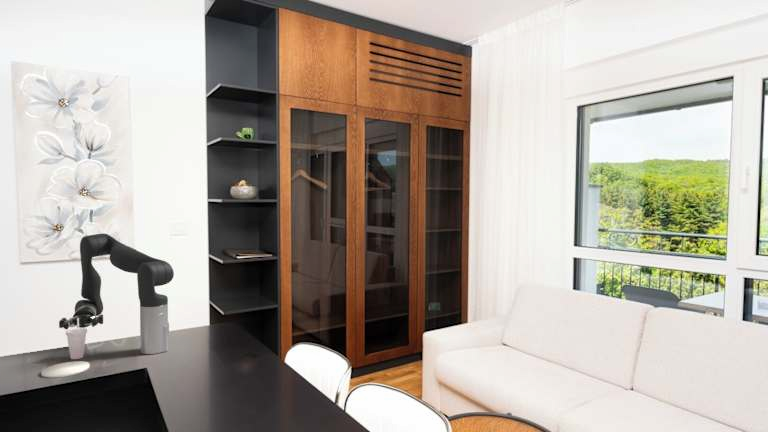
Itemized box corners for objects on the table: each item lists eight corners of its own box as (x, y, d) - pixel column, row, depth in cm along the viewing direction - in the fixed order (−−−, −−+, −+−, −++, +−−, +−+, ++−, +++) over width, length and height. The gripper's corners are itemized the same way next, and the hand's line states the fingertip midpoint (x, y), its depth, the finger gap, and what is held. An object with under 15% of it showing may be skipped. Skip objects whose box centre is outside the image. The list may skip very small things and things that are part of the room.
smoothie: (79, 360, 159) (79, 320, 158) (61, 360, 159) (61, 320, 159) (91, 354, 165) (91, 316, 165) (74, 354, 165) (73, 316, 165)
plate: (94, 361, 157) (94, 359, 157) (82, 375, 145) (82, 372, 145) (50, 365, 153) (50, 363, 153) (34, 379, 141) (34, 377, 141)
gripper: (63, 308, 183) (56, 317, 168) (105, 305, 189) (102, 313, 175) (63, 327, 183) (57, 337, 168) (105, 323, 189) (102, 333, 175)
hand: (79, 325), depth 172 cm, fingers open, 8 cm apart
